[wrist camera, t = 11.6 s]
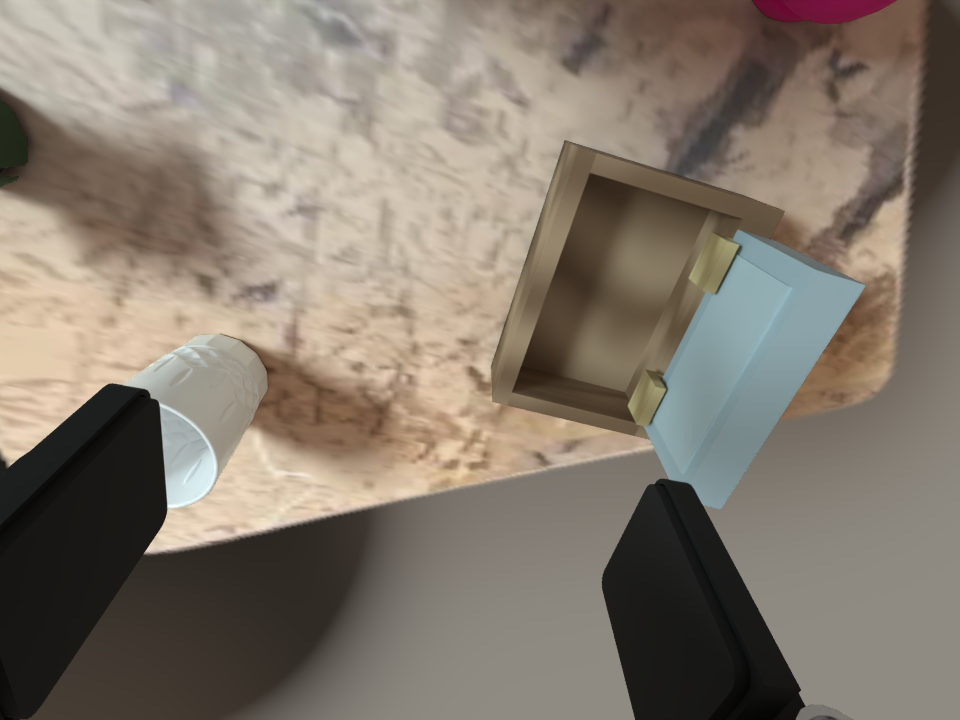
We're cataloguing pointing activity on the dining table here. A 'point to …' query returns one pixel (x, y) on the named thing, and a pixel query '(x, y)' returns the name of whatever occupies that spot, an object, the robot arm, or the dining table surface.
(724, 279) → the door
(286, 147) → the dining table surface
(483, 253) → the dining table surface
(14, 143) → the character mug
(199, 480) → the white cup
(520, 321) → the carcass
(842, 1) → the pepper mill
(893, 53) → the dining table surface
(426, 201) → the dining table surface
